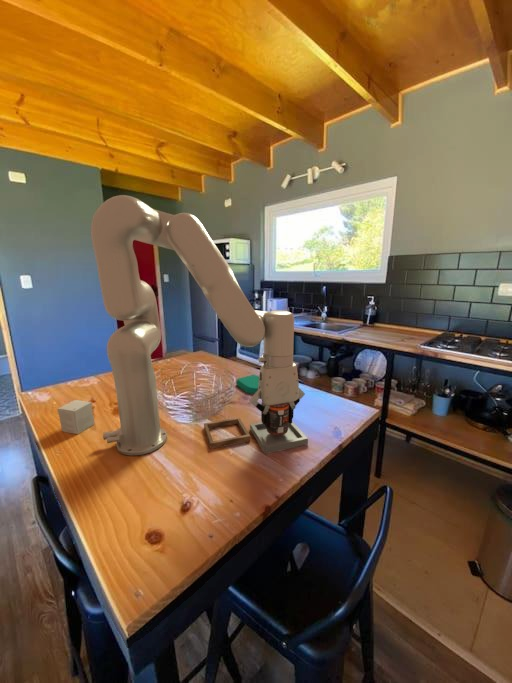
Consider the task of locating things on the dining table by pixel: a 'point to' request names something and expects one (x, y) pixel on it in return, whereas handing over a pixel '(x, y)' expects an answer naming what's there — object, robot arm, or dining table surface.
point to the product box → (76, 416)
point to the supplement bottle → (278, 419)
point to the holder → (230, 440)
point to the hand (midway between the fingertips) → (277, 422)
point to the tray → (278, 438)
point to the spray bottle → (248, 383)
